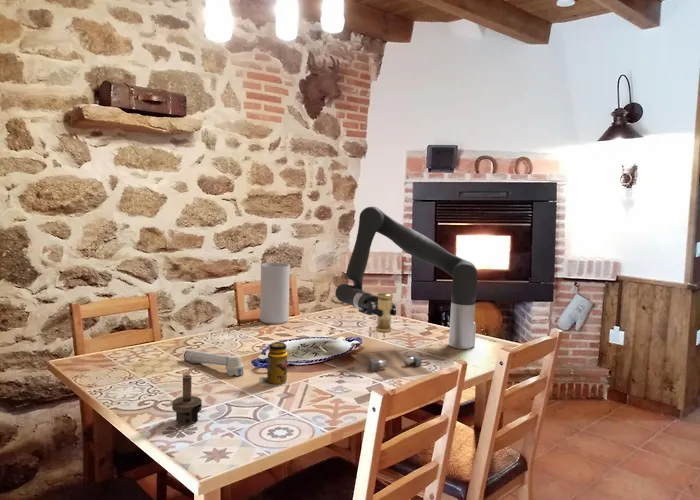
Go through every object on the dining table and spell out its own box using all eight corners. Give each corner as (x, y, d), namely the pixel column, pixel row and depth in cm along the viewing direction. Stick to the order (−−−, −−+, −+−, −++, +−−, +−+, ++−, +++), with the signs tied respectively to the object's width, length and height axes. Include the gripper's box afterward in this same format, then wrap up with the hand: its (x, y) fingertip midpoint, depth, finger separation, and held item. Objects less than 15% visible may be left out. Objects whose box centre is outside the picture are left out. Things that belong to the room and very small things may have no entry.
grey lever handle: (193, 347, 193) (246, 352, 179) (195, 366, 193) (248, 372, 179) (181, 351, 189) (234, 355, 175) (183, 370, 189) (236, 377, 175)
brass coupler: (386, 328, 201) (388, 292, 199) (393, 332, 196) (395, 295, 194) (373, 329, 198) (374, 293, 197) (380, 333, 193) (381, 296, 192)
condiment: (289, 385, 171) (290, 347, 170) (261, 386, 169) (261, 348, 168) (286, 377, 178) (287, 340, 177) (259, 378, 176) (260, 341, 175)
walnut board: (394, 352, 209) (394, 350, 208) (432, 374, 185) (432, 373, 185) (350, 356, 201) (350, 355, 201) (384, 381, 178) (384, 379, 178)
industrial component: (165, 422, 143) (165, 376, 141) (186, 412, 149) (186, 369, 147) (191, 431, 138) (191, 384, 136) (212, 421, 144) (213, 376, 143)
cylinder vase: (273, 315, 256) (274, 261, 253) (294, 320, 249) (295, 265, 246) (254, 320, 246) (254, 264, 243) (274, 325, 239) (276, 268, 236)
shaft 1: (383, 366, 190) (384, 358, 190) (387, 370, 186) (387, 362, 185) (368, 367, 189) (369, 359, 188) (372, 371, 185) (372, 363, 184)
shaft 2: (412, 362, 196) (413, 354, 196) (421, 365, 192) (421, 357, 192) (401, 364, 193) (401, 356, 192) (410, 368, 189) (410, 360, 189)
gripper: (349, 293, 206) (369, 304, 190) (384, 291, 211) (406, 301, 196) (348, 313, 207) (369, 325, 191) (383, 311, 212) (405, 322, 197)
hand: (388, 313), depth 194 cm, fingers closed on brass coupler, 4 cm apart
